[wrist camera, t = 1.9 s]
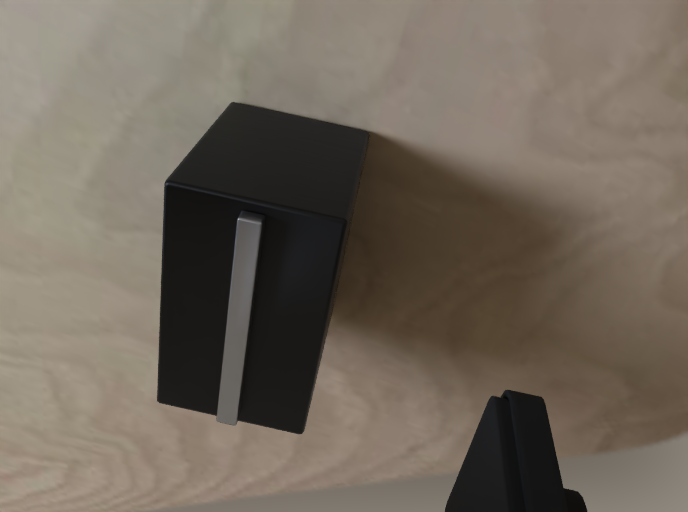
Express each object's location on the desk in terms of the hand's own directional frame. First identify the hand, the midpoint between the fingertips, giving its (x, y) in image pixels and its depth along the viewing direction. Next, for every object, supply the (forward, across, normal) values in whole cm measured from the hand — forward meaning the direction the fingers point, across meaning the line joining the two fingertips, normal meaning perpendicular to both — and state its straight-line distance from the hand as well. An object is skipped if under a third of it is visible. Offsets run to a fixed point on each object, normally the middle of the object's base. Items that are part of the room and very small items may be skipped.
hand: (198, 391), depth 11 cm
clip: (+6, 0, 0) cm, 6 cm away
